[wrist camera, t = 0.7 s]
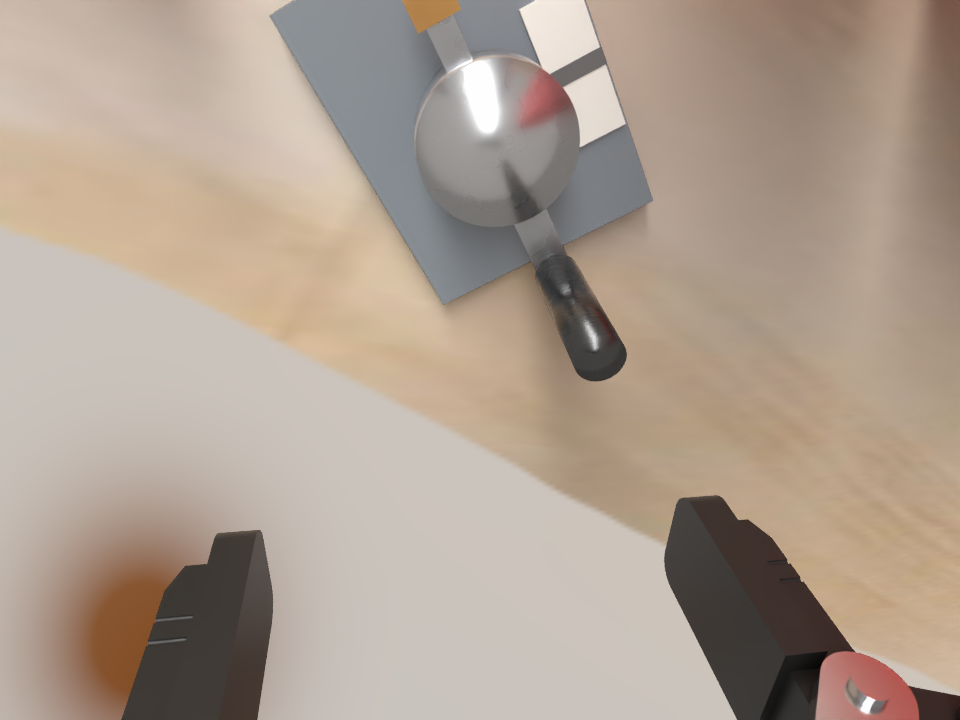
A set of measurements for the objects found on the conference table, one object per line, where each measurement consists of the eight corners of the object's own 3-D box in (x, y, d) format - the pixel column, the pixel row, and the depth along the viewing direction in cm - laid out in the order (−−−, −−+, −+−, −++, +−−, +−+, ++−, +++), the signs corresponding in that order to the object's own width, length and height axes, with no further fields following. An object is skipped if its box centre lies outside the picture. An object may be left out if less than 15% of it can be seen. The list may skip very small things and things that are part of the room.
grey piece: (494, -78, 21) (545, -81, 15) (619, 244, 29) (691, 340, 22) (337, 13, 22) (319, 49, 16) (496, 305, 29) (529, 414, 23)
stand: (529, -140, 24) (551, -150, 21) (642, 189, 32) (670, 217, 28) (274, 11, 26) (260, 22, 22) (441, 290, 33) (447, 327, 30)
